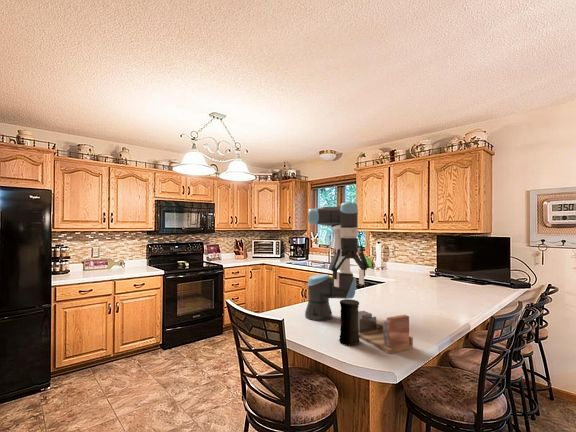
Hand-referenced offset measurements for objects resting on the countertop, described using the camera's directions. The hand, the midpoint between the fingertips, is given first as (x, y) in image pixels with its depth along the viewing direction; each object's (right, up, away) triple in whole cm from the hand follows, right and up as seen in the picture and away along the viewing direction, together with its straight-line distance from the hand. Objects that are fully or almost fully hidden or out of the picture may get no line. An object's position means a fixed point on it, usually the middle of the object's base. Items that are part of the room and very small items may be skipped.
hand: (349, 285), depth 137 cm
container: (0, -25, 0) cm, 25 cm away
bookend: (+9, -24, +12) cm, 28 cm away
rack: (+15, -25, 0) cm, 29 cm away
